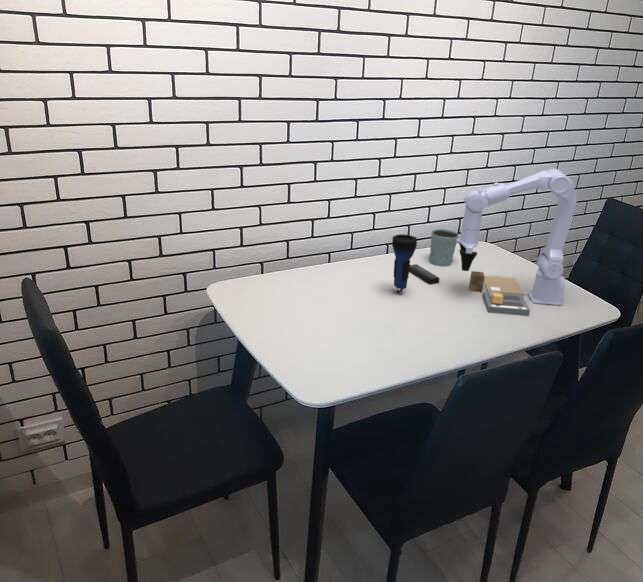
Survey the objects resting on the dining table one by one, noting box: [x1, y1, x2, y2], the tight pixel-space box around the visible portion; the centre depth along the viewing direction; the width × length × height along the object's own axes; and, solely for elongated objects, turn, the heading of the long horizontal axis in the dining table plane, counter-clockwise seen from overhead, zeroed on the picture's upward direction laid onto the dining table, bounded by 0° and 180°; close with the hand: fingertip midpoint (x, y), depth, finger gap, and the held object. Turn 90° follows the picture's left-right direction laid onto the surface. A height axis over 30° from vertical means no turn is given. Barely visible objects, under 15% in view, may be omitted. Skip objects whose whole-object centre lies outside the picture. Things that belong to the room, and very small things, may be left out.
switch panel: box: [482, 291, 531, 317], centre depth 190 cm, size 13×12×2 cm
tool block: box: [468, 270, 486, 293], centre depth 201 cm, size 4×4×6 cm
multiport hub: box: [409, 263, 440, 286], centre depth 211 cm, size 4×14×2 cm, turn 27°
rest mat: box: [483, 275, 524, 296], centre depth 206 cm, size 12×14×1 cm
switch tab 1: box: [489, 287, 501, 297], centre depth 192 cm, size 3×3×2 cm
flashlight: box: [392, 233, 418, 294], centre depth 192 cm, size 8×8×20 cm
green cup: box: [429, 228, 459, 267], centre depth 222 cm, size 10×10×12 cm
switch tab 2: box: [491, 293, 503, 304], centre depth 187 cm, size 3×3×2 cm
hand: (464, 266), depth 194 cm, fingers open, 7 cm apart
